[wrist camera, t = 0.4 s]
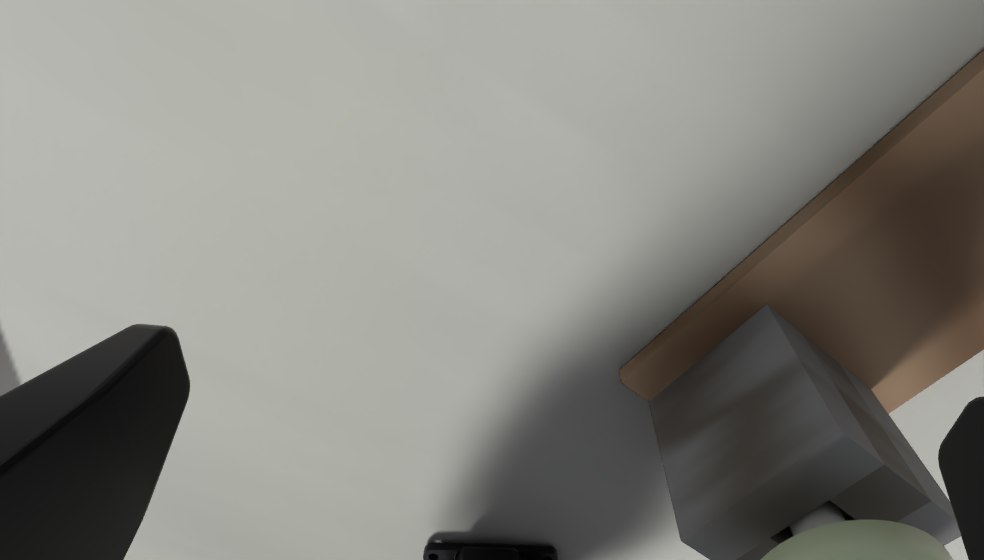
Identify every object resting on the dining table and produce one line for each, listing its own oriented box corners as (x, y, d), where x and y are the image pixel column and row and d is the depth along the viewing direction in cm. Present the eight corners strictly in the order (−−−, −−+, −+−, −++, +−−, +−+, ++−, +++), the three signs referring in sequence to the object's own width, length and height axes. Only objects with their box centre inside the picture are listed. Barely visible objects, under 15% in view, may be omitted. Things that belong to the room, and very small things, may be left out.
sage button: (788, 565, 24) (850, 725, 19) (678, 491, 22) (716, 645, 18) (925, 480, 22) (1034, 640, 17) (813, 392, 20) (898, 540, 15)
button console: (768, 476, 29) (835, 640, 23) (618, 370, 27) (646, 518, 20) (1302, 108, 21) (1659, 201, 14) (1152, -99, 18) (1498, -102, 12)
